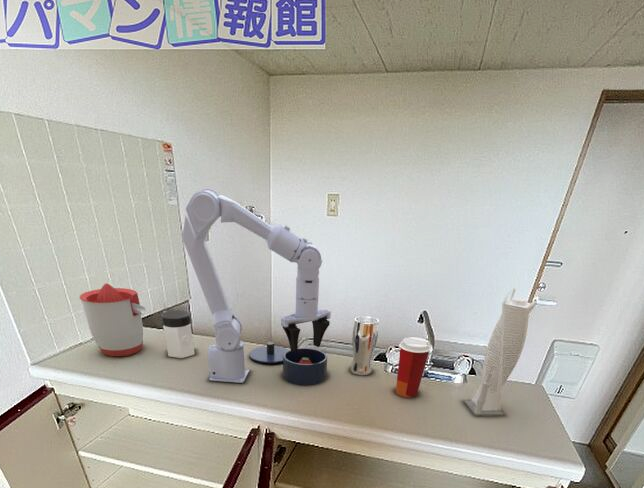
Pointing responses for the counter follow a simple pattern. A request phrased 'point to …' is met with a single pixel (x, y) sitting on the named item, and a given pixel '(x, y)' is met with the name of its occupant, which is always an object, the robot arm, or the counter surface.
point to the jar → (178, 334)
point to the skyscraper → (501, 355)
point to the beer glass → (364, 344)
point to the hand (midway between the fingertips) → (305, 348)
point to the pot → (305, 366)
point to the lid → (268, 353)
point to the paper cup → (411, 365)
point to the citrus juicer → (114, 319)
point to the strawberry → (305, 361)
